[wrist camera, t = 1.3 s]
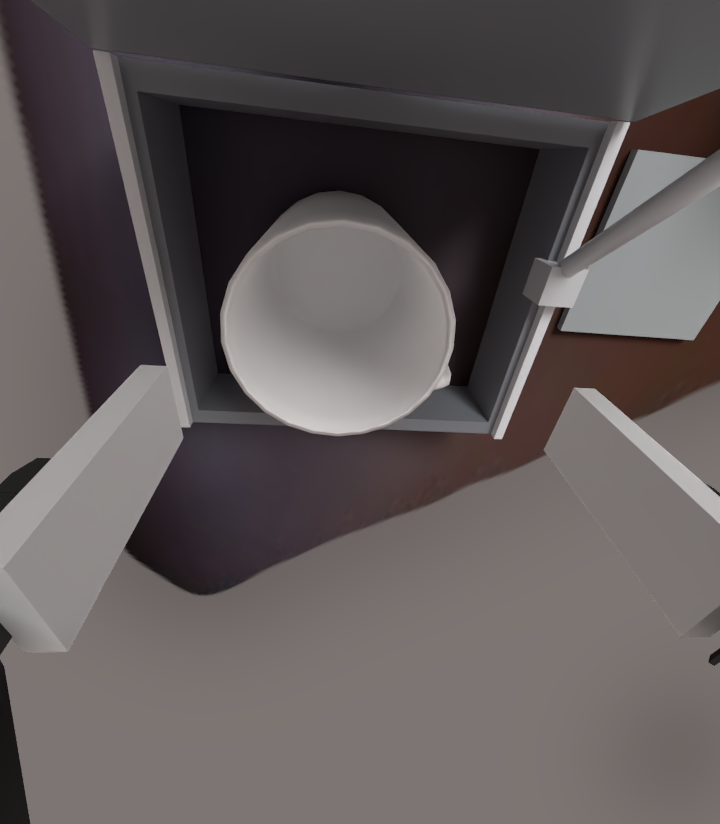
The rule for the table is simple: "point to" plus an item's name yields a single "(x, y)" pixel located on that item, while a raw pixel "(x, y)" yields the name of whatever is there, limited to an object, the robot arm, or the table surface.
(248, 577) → the table surface
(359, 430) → the mug
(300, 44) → the lid
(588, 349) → the table surface
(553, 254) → the case
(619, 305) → the pad
